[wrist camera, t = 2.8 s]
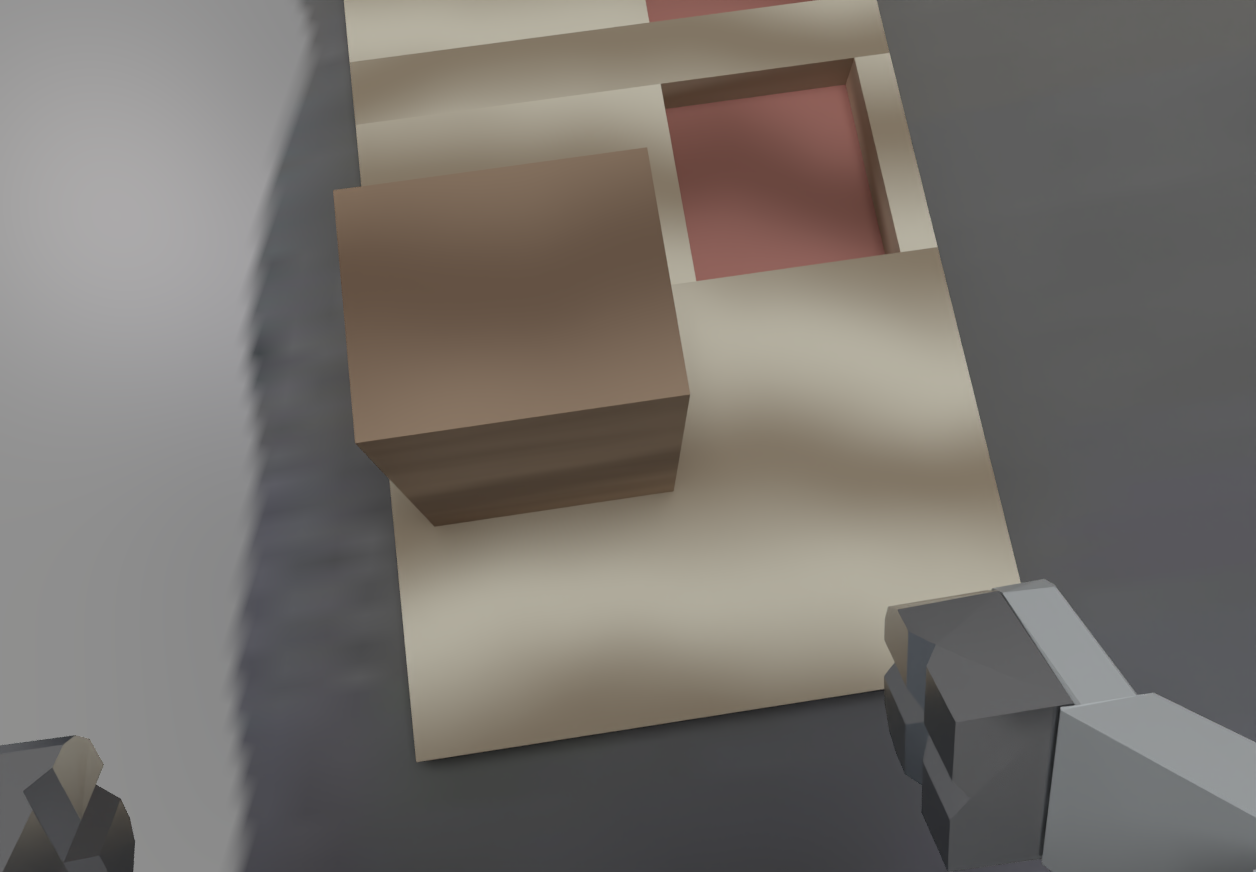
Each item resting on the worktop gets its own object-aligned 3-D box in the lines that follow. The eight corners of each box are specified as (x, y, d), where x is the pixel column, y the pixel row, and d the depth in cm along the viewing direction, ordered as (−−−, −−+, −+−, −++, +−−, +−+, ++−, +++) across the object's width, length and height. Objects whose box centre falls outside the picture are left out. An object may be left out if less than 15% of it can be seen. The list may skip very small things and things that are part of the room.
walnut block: (673, 491, 27) (690, 394, 19) (434, 526, 27) (355, 442, 19) (643, 306, 28) (646, 147, 21) (414, 339, 28) (332, 190, 20)
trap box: (1018, 668, 27) (1040, 664, 26) (427, 760, 27) (416, 762, 25) (794, -264, 35) (800, -306, 34) (333, -206, 35) (320, -247, 33)
